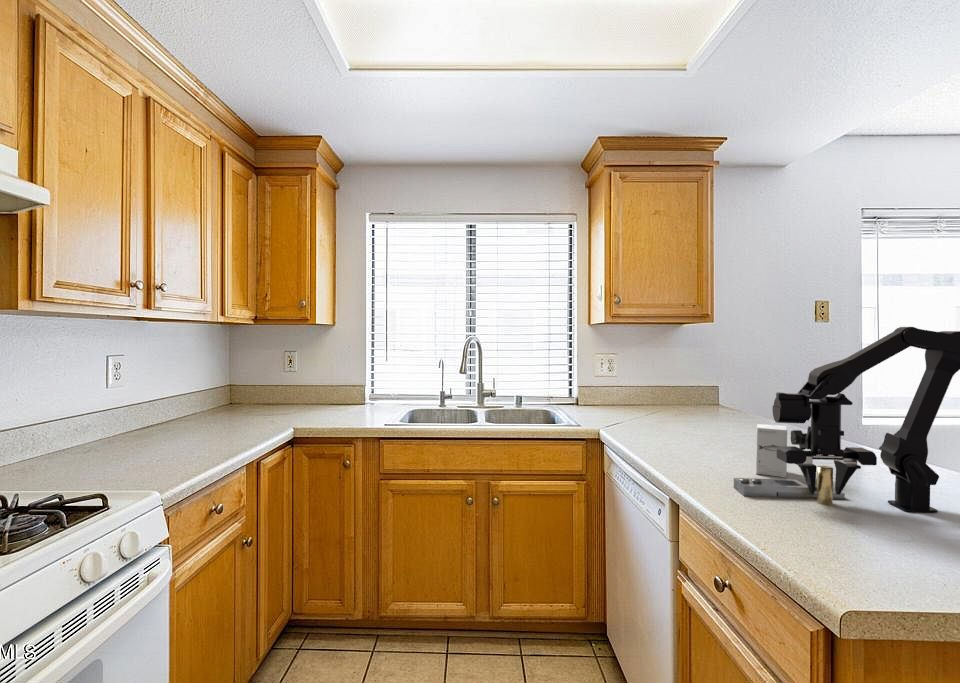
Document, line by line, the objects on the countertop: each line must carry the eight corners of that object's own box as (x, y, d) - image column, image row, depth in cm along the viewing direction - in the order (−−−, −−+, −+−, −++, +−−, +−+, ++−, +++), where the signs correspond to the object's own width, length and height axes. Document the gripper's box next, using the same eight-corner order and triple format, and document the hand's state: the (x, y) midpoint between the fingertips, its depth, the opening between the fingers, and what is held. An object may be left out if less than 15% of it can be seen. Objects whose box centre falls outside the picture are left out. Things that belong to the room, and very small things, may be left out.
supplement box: (755, 474, 150) (755, 427, 150) (756, 468, 157) (756, 423, 156) (787, 478, 147) (787, 429, 146) (786, 471, 153) (787, 425, 153)
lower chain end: (844, 498, 129) (844, 491, 129) (778, 497, 130) (778, 489, 130) (828, 490, 136) (828, 482, 136) (765, 488, 137) (765, 481, 137)
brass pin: (835, 505, 124) (835, 469, 124) (820, 504, 124) (821, 468, 124) (828, 501, 127) (828, 465, 127) (814, 500, 127) (814, 465, 127)
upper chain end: (809, 497, 129) (810, 484, 129) (744, 496, 131) (744, 483, 131) (795, 489, 136) (796, 476, 136) (733, 487, 138) (733, 475, 138)
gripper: (849, 418, 133) (848, 484, 133) (767, 417, 134) (766, 483, 135) (878, 427, 121) (877, 499, 122) (788, 426, 123) (787, 496, 124)
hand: (824, 493), depth 126 cm, fingers open, 5 cm apart
